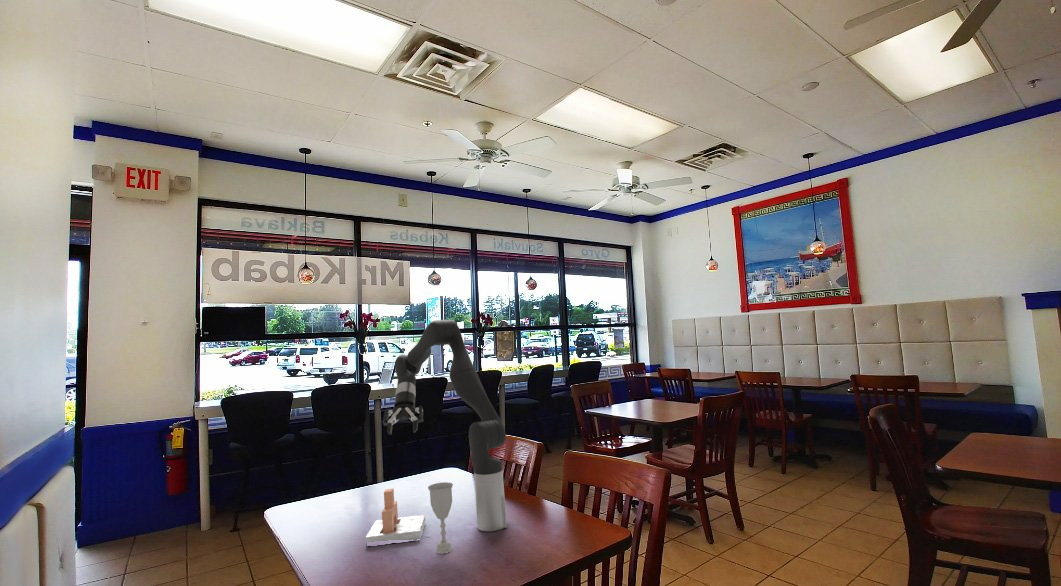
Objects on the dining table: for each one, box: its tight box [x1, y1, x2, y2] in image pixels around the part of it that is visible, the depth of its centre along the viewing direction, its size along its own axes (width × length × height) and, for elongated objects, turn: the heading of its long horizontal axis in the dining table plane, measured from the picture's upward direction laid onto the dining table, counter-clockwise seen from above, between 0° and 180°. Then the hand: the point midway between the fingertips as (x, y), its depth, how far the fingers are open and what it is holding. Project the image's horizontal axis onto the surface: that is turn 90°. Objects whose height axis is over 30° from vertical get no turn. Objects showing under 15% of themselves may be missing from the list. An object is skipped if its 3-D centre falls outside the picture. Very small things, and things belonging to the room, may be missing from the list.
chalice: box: [427, 481, 454, 554], centre depth 143 cm, size 7×7×18 cm
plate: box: [365, 514, 426, 543], centre depth 156 cm, size 16×14×3 cm
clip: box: [381, 488, 399, 533], centre depth 157 cm, size 3×10×14 cm, turn 5°
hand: (402, 432), depth 177 cm, fingers open, 8 cm apart
